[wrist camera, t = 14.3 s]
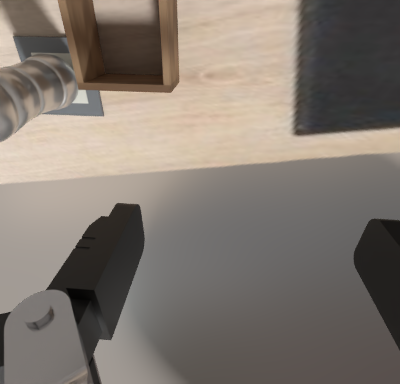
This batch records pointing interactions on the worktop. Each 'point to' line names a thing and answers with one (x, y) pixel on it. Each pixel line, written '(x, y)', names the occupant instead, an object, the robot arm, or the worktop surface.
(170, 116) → the worktop surface
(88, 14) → the crate
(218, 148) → the worktop surface
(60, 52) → the mat
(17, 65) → the plastic bottle
